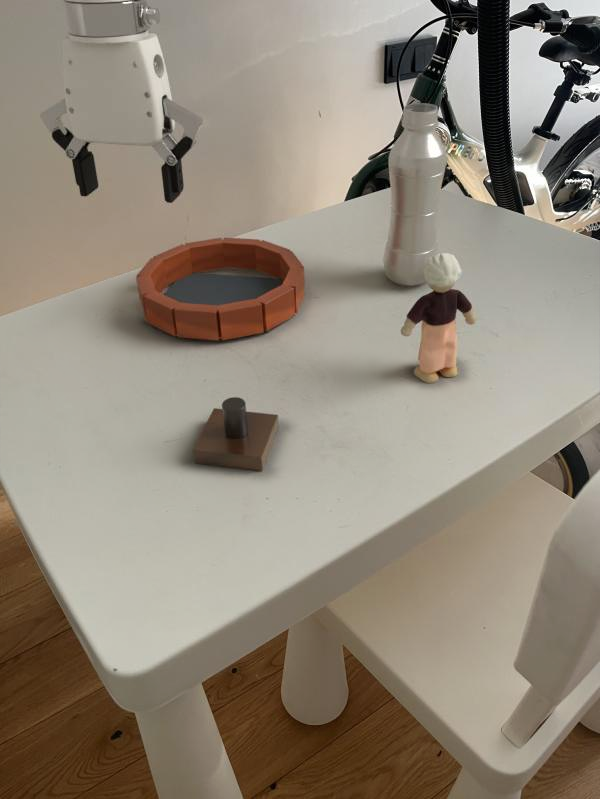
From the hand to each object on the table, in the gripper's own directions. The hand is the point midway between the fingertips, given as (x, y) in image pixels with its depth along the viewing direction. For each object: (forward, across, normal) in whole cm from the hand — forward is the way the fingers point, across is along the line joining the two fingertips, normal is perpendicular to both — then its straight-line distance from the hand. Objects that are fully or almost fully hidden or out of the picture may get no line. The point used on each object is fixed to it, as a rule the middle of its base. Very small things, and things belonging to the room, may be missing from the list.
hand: (131, 195), depth 80 cm
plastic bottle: (+12, -30, -10) cm, 34 cm away
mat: (+12, -9, -1) cm, 16 cm away
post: (+13, -18, +24) cm, 33 cm away
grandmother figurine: (+12, -34, +10) cm, 38 cm away
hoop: (+12, -9, -1) cm, 15 cm away
